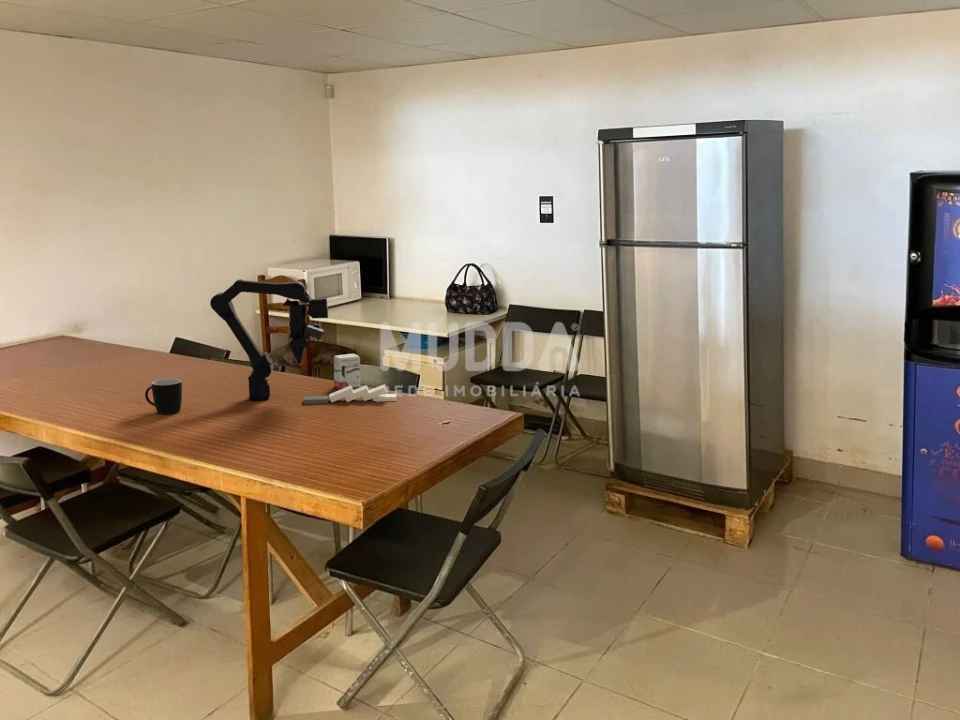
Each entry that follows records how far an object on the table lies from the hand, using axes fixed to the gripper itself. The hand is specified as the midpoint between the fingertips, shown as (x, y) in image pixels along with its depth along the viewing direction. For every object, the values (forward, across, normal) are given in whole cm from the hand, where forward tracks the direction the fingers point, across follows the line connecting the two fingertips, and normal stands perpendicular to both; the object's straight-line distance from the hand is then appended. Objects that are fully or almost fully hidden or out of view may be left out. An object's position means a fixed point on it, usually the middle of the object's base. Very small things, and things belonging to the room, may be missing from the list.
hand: (299, 363), depth 268 cm
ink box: (+12, +12, -17) cm, 24 cm away
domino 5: (+12, -9, -24) cm, 28 cm away
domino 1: (+11, -8, -1) cm, 14 cm away
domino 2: (+11, -8, -10) cm, 17 cm away
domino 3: (+11, -8, -15) cm, 20 cm away
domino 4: (+11, -8, -21) cm, 25 cm away
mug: (+12, -11, +43) cm, 46 cm away
